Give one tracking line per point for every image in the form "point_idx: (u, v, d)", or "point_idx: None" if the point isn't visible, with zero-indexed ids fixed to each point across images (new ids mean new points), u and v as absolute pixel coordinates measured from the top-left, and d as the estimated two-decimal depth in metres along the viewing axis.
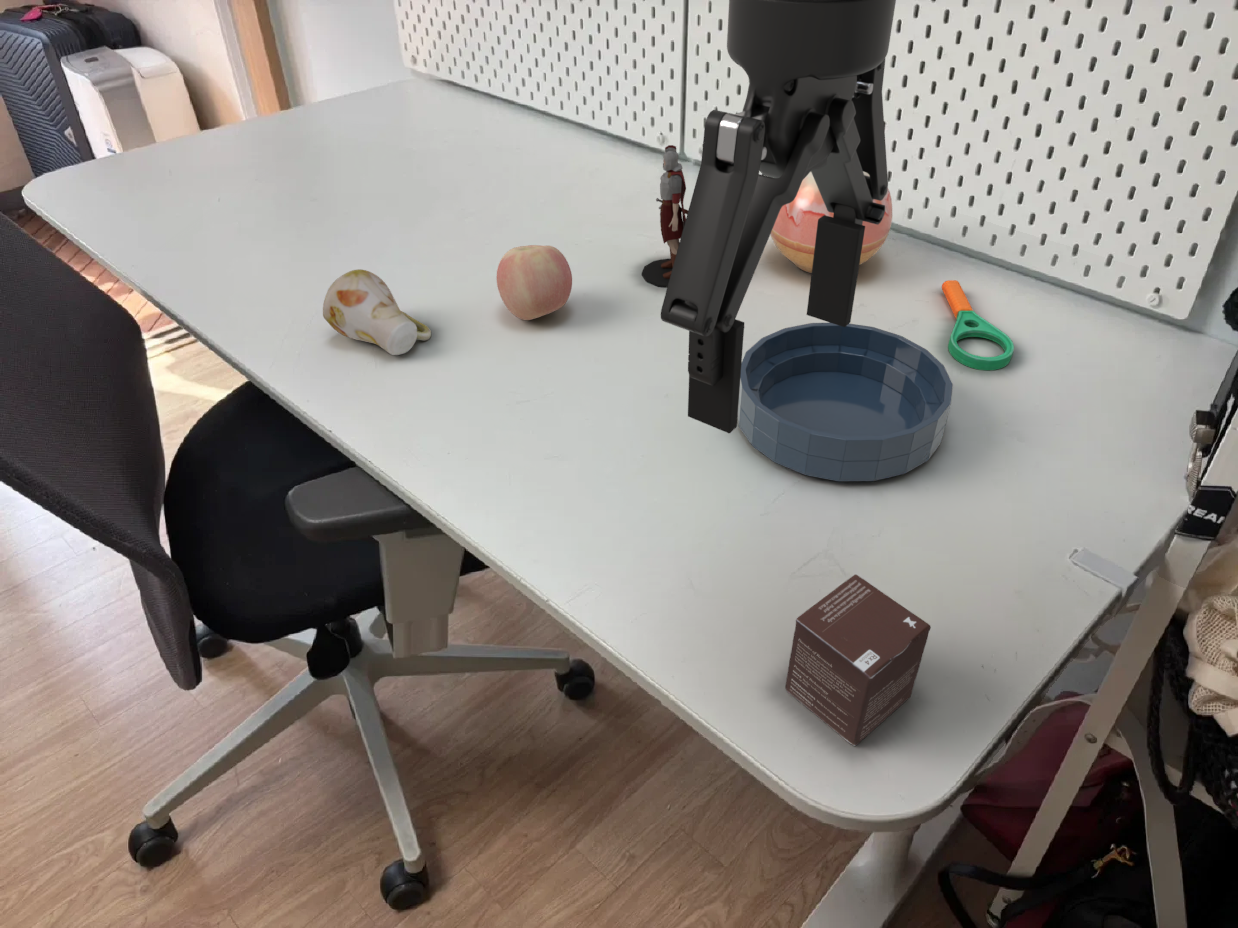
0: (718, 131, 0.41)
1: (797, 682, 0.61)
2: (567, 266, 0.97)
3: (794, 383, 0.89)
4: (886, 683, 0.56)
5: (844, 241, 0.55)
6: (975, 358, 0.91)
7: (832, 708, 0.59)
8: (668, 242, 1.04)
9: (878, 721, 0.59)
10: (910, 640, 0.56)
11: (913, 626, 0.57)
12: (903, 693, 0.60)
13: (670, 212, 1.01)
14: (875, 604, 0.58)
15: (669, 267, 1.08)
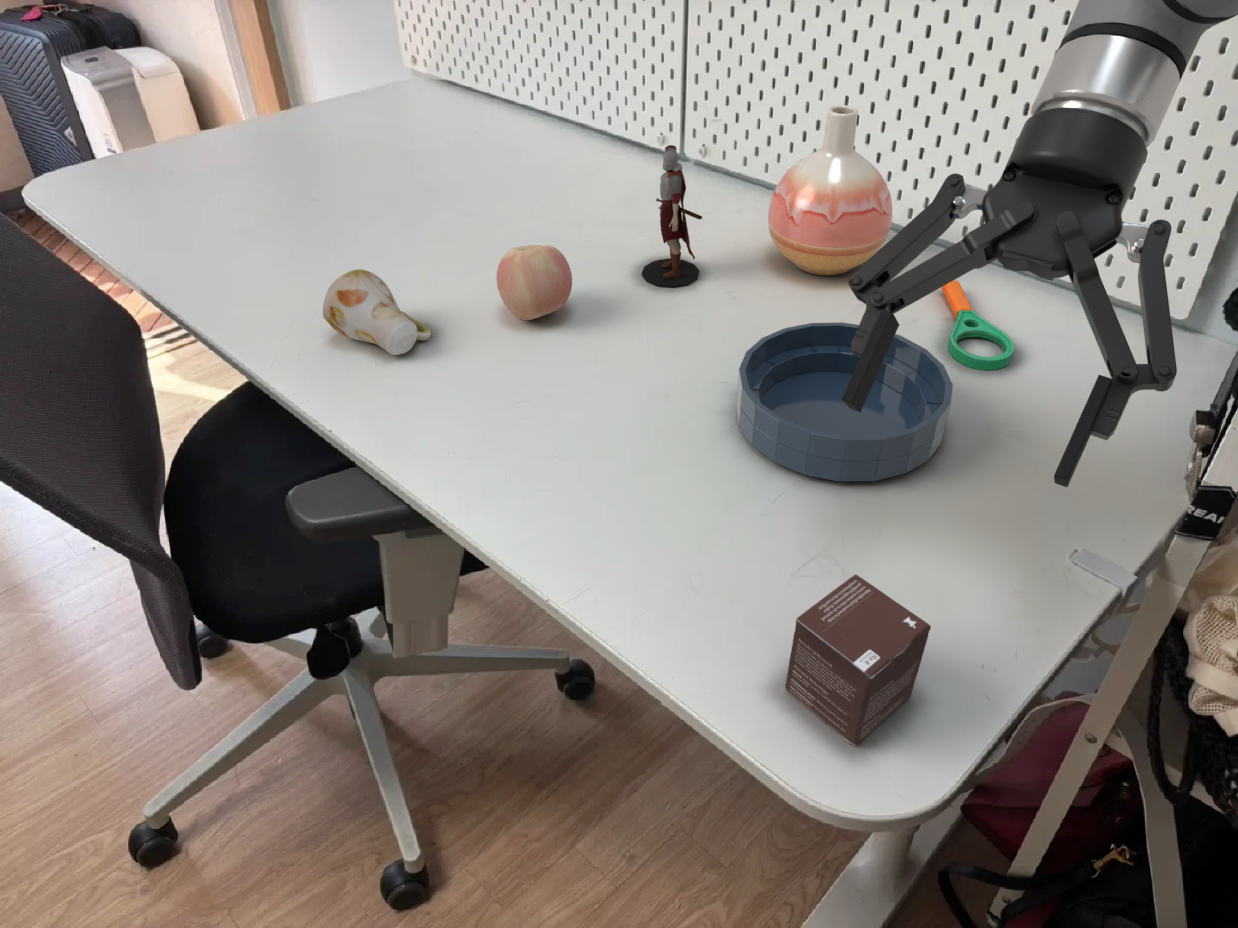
0: None
1: (797, 682, 0.61)
2: (567, 266, 0.97)
3: (794, 383, 0.89)
4: (886, 683, 0.56)
5: None
6: (975, 358, 0.91)
7: (832, 708, 0.59)
8: (668, 242, 1.04)
9: (878, 721, 0.59)
10: (910, 640, 0.56)
11: (913, 626, 0.57)
12: (903, 693, 0.60)
13: (670, 212, 1.01)
14: (875, 604, 0.58)
15: (669, 267, 1.08)
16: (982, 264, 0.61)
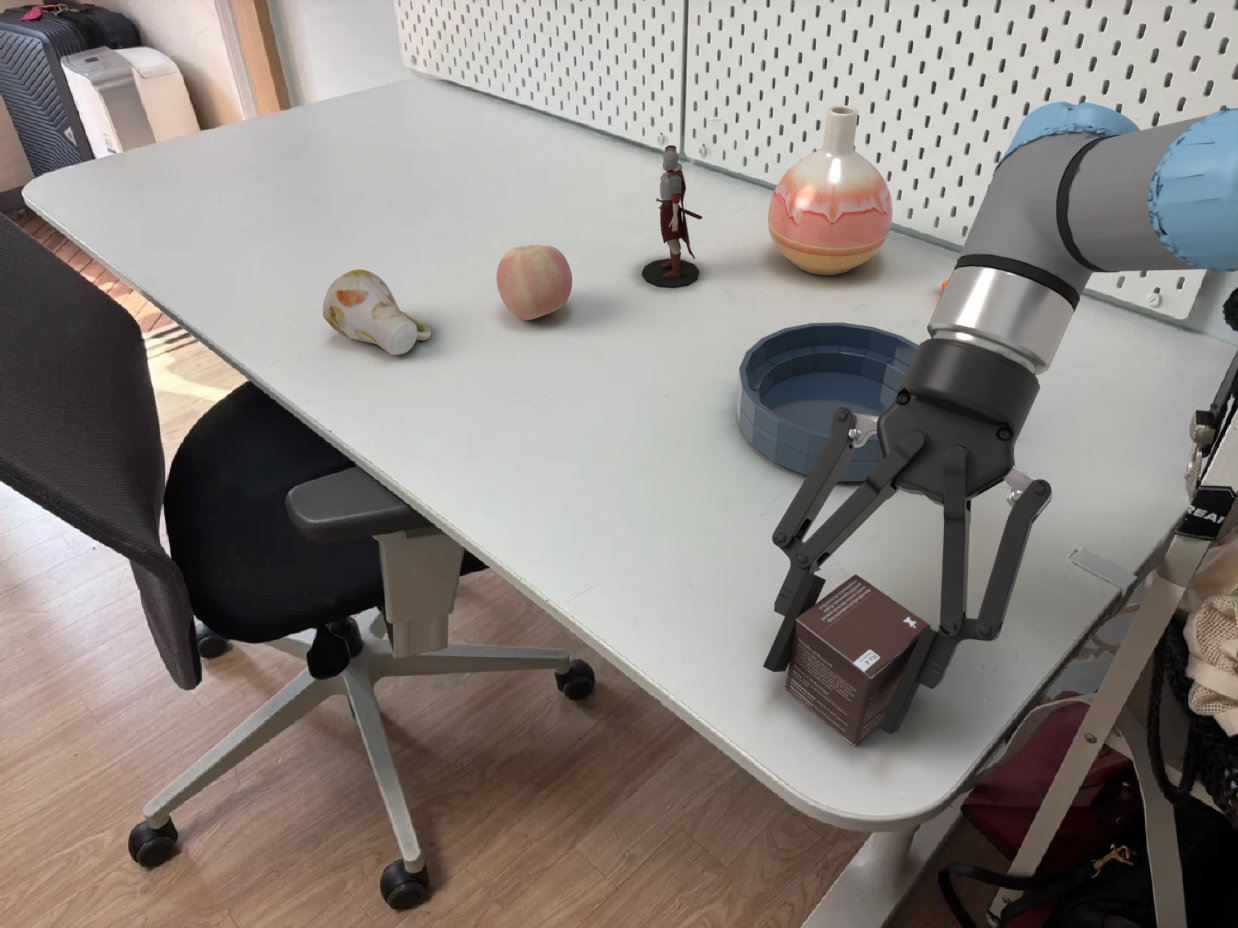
0: None
1: (797, 682, 0.61)
2: (567, 266, 0.97)
3: (794, 383, 0.89)
4: (886, 683, 0.56)
5: None
6: None
7: (832, 708, 0.59)
8: (668, 242, 1.04)
9: (878, 721, 0.59)
10: (910, 640, 0.56)
11: (913, 626, 0.57)
12: None
13: (670, 212, 1.01)
14: (875, 604, 0.58)
15: (669, 267, 1.08)
16: (892, 494, 0.59)
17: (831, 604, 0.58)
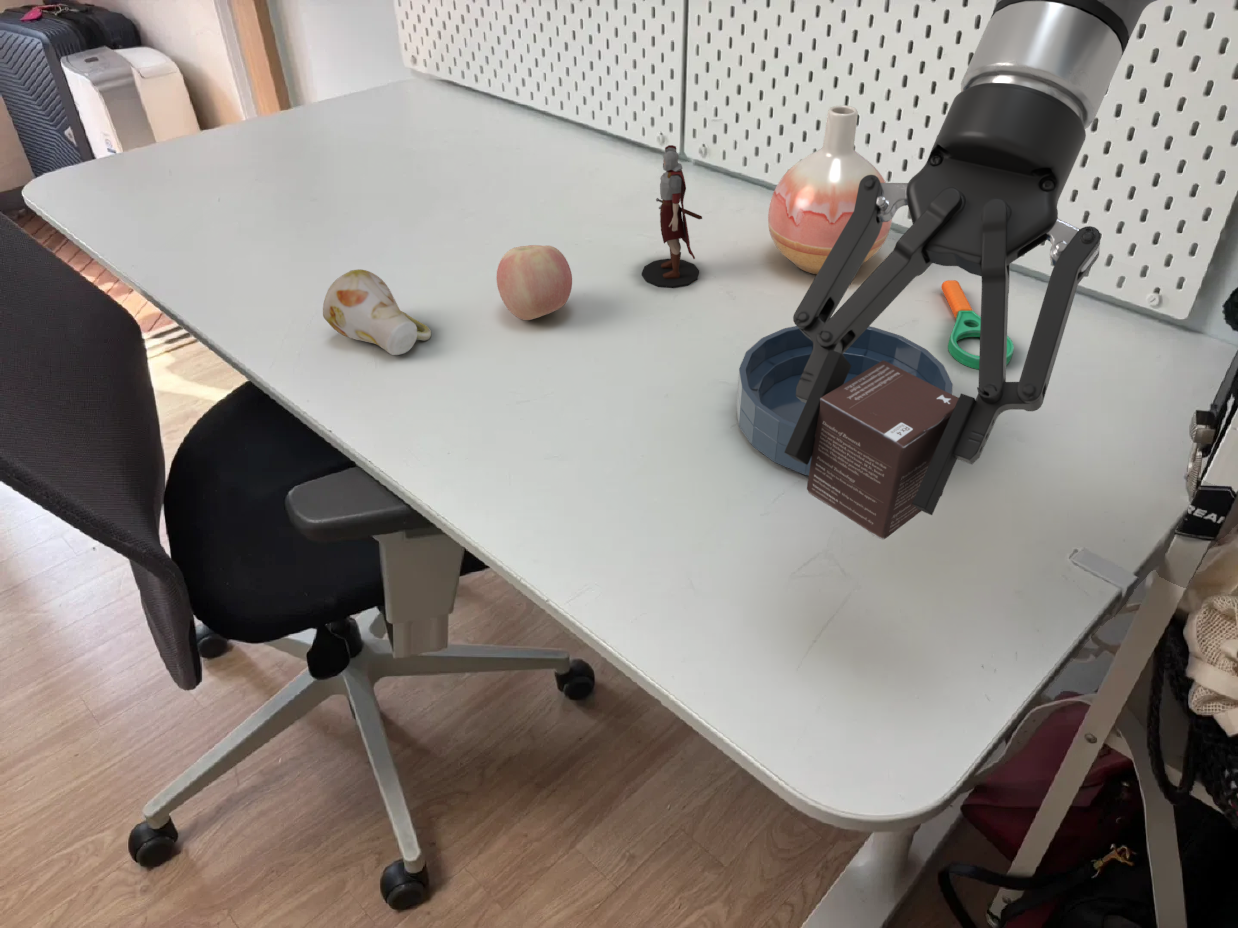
0: None
1: (820, 478, 0.56)
2: (567, 266, 0.97)
3: (794, 383, 0.89)
4: (918, 462, 0.52)
5: None
6: (975, 358, 0.91)
7: (859, 498, 0.54)
8: (668, 242, 1.04)
9: (908, 514, 0.55)
10: (945, 414, 0.52)
11: (948, 402, 0.53)
12: None
13: (670, 212, 1.01)
14: (905, 384, 0.54)
15: (669, 267, 1.08)
16: (922, 269, 0.55)
17: (858, 385, 0.54)
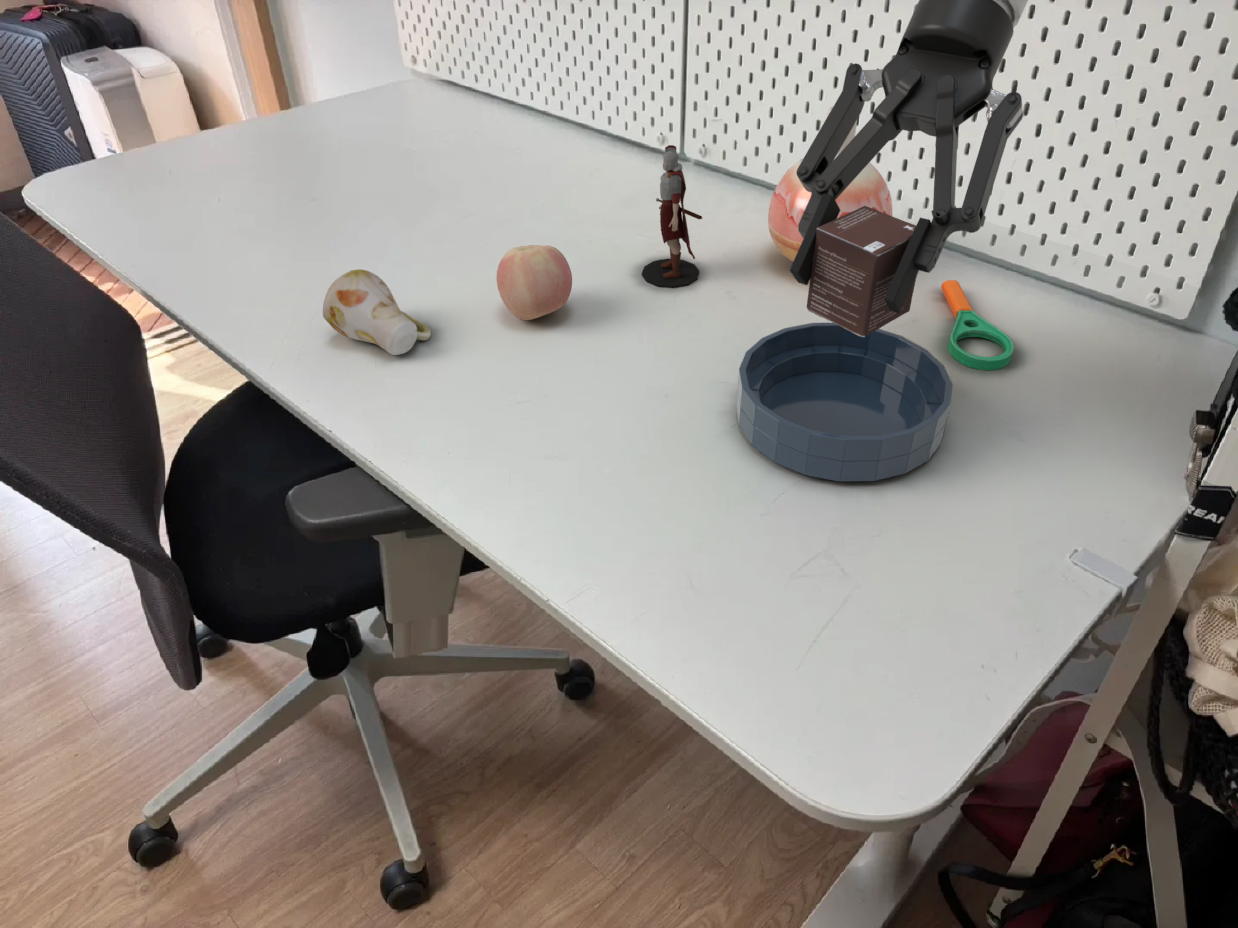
0: None
1: (816, 295, 0.74)
2: (567, 266, 0.97)
3: (794, 383, 0.89)
4: (889, 273, 0.70)
5: None
6: (975, 358, 0.91)
7: (846, 305, 0.72)
8: (668, 242, 1.04)
9: (883, 319, 0.73)
10: (909, 236, 0.70)
11: (911, 229, 0.70)
12: None
13: (670, 212, 1.01)
14: (880, 219, 0.72)
15: (669, 267, 1.08)
16: (894, 135, 0.73)
17: (845, 220, 0.72)
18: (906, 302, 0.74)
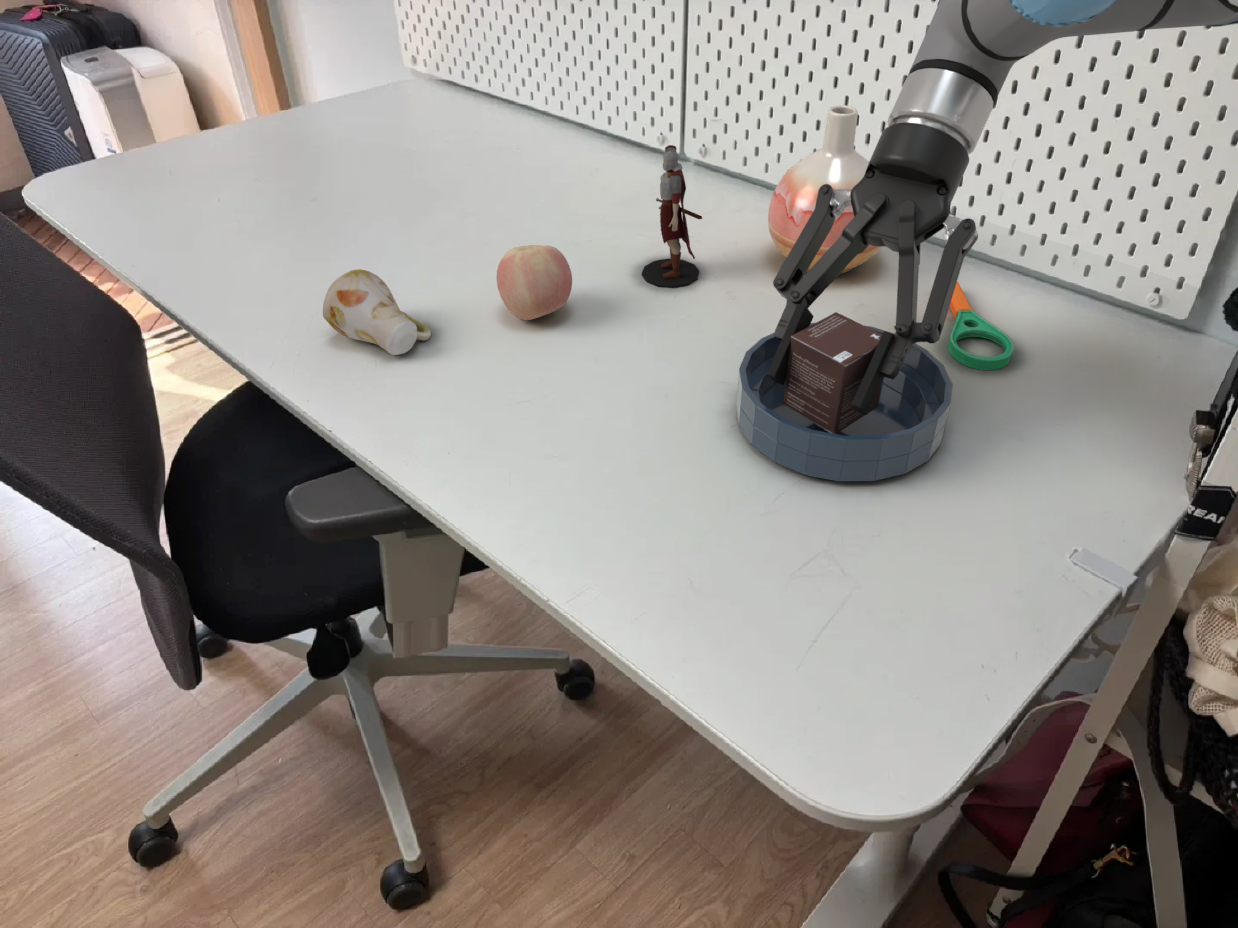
0: None
1: (792, 394, 0.81)
2: (567, 266, 0.97)
3: None
4: (857, 378, 0.77)
5: None
6: (975, 358, 0.91)
7: (818, 406, 0.79)
8: (668, 242, 1.04)
9: (852, 417, 0.79)
10: (875, 346, 0.76)
11: (877, 338, 0.77)
12: None
13: (670, 212, 1.01)
14: (850, 327, 0.79)
15: (669, 267, 1.08)
16: (862, 249, 0.80)
17: (817, 328, 0.79)
18: (874, 400, 0.81)
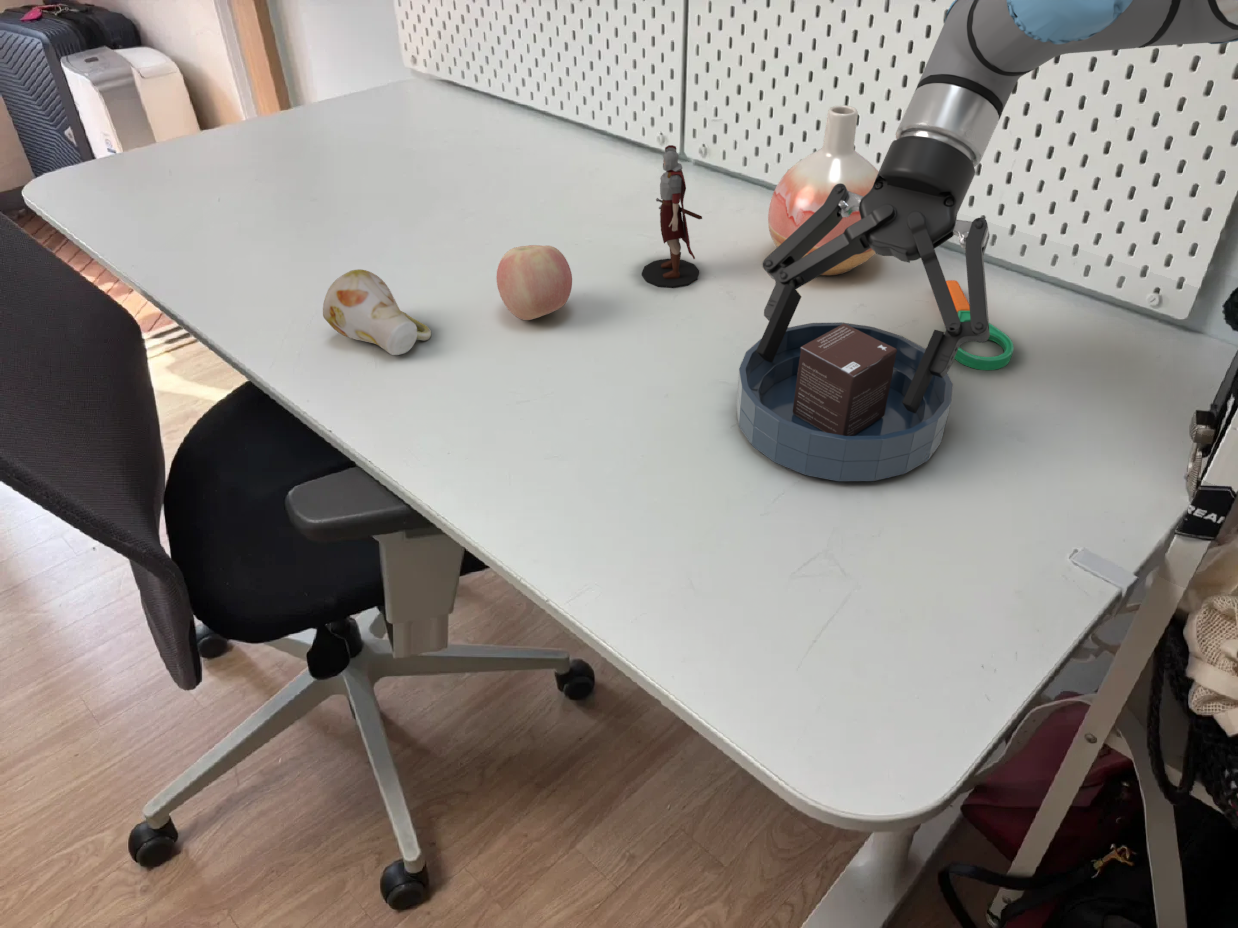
0: None
1: (801, 402, 0.83)
2: (567, 266, 0.97)
3: (794, 383, 0.89)
4: (865, 388, 0.79)
5: None
6: (975, 358, 0.91)
7: (827, 414, 0.81)
8: (668, 242, 1.04)
9: (860, 425, 0.82)
10: (882, 357, 0.79)
11: (884, 349, 0.80)
12: (878, 407, 0.83)
13: (670, 212, 1.01)
14: (857, 338, 0.81)
15: (669, 267, 1.08)
16: (861, 251, 0.82)
17: (826, 339, 0.81)
18: (881, 409, 0.83)
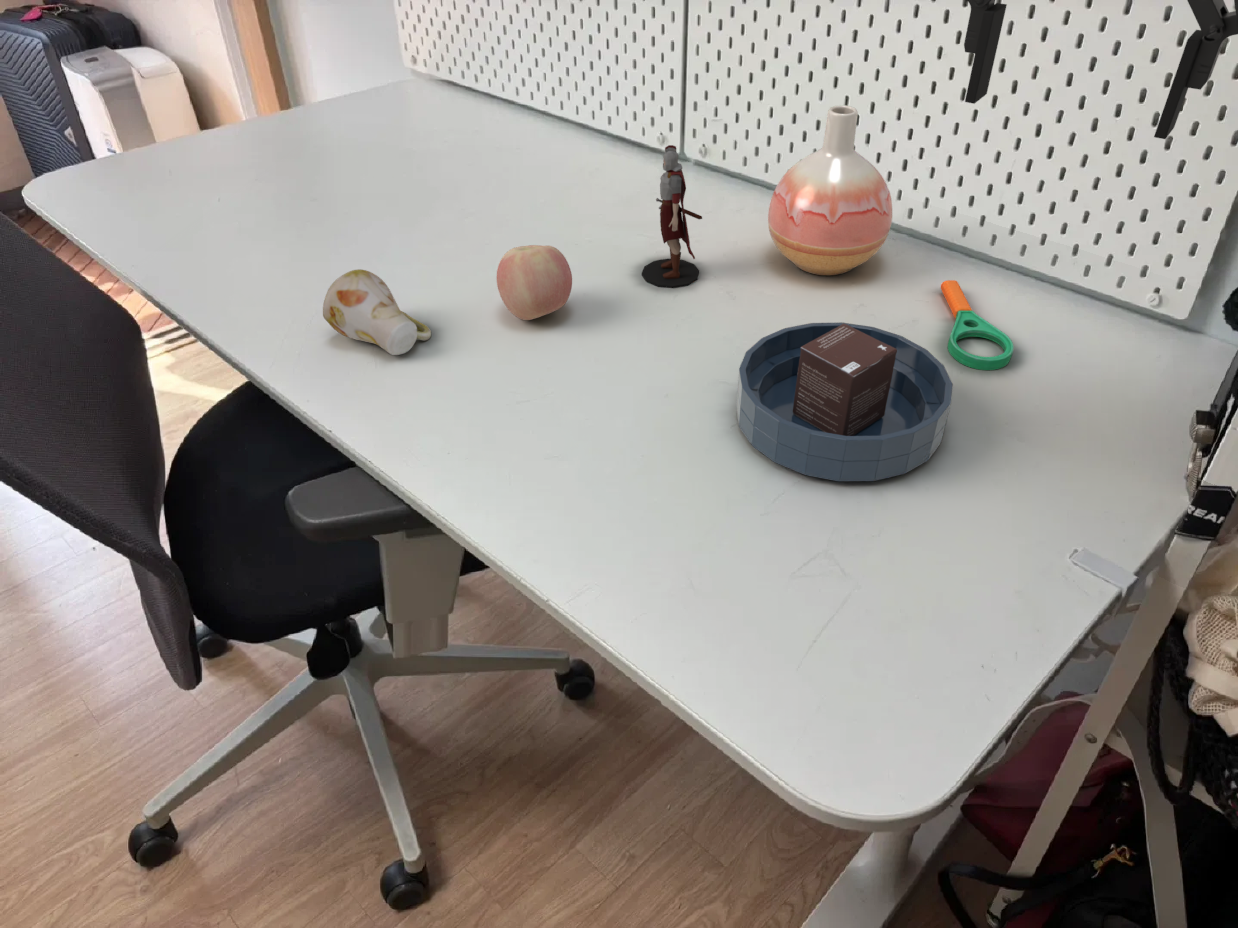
0: None
1: (801, 402, 0.83)
2: (567, 266, 0.97)
3: (794, 383, 0.89)
4: (865, 388, 0.79)
5: None
6: (975, 358, 0.91)
7: (827, 414, 0.81)
8: (668, 242, 1.04)
9: (860, 425, 0.82)
10: (882, 357, 0.79)
11: (884, 349, 0.80)
12: (878, 407, 0.83)
13: (670, 212, 1.01)
14: (857, 338, 0.81)
15: (669, 267, 1.08)
16: None
17: (826, 339, 0.81)
18: (881, 409, 0.83)
